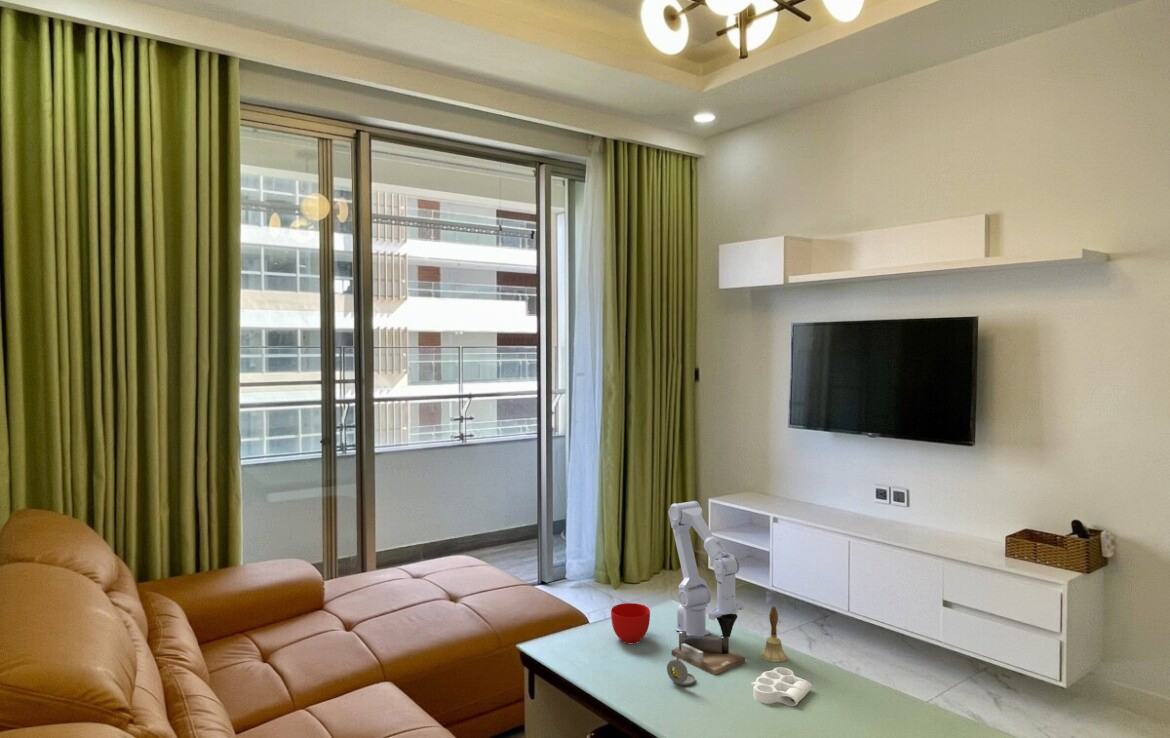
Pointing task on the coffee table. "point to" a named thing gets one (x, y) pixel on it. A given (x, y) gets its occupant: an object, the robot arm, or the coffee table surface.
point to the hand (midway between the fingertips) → (726, 636)
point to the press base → (709, 659)
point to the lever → (705, 642)
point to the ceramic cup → (630, 621)
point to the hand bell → (773, 642)
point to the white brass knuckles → (780, 687)
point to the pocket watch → (679, 672)
